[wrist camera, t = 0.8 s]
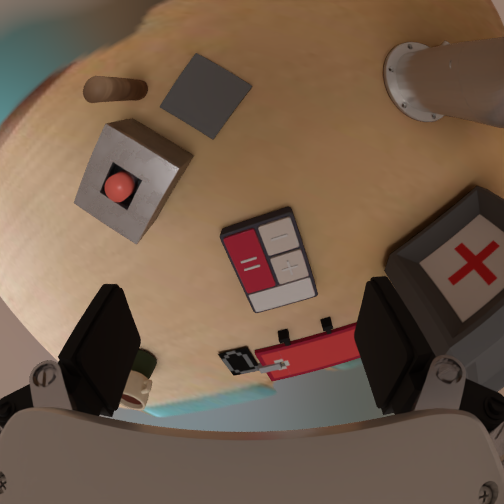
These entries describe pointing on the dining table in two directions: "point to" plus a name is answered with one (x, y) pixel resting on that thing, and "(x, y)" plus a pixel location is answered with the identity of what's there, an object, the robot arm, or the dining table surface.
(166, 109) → the rest pad
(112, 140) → the guard box
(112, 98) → the brown cylinder
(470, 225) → the first aid kit
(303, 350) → the red board with handle
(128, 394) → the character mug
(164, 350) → the dining table surface
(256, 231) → the calculator
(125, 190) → the red ball
